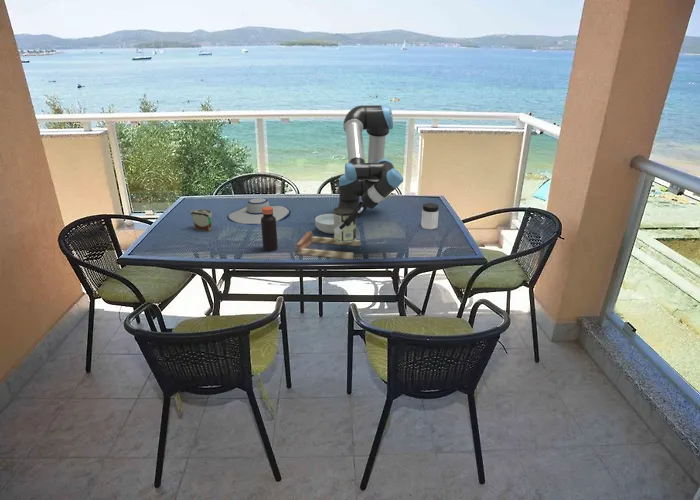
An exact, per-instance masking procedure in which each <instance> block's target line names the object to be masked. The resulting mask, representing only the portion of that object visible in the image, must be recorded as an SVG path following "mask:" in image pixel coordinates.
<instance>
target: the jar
mask: <svg viewBox="0 0 700 500" xmlns="http://www.w3.org/2000/svg"><path fill="white" fill-rule="evenodd" d="M438 222H439V205H438V204H437V203H433V202H427V203H426V202H425V203H423V204H422V209H421V224H420V225H421V227H422V229H425V230H426V229H427V230H435V229H438V226H439V224H438Z"/></svg>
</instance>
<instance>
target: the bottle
mask: <svg viewBox="0 0 700 500" xmlns="http://www.w3.org/2000/svg"><path fill="white" fill-rule="evenodd" d="M262 213H263V217H262V218H261V235H262V236H261V238H262V248H263V250H264V251H265V252H266V251H267V252H273V251H276V250H278V248H279V247H278V243H279V242H278V232H277V221H276V218H275V217H274V216H273V208H272V207H264V208H262Z"/></svg>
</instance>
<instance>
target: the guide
mask: <svg viewBox="0 0 700 500" xmlns="http://www.w3.org/2000/svg"><path fill="white" fill-rule="evenodd" d="M312 243H316V244H328V245H330V244H331V245H341V246H354V247H360V246H361V240H360V239H356V240H355V241H353V242H348V243H341V242H337V241H335V240H334V237H326V236H323V237H322V236H313V232H312V231H311V230H309V231H307V232H306V233H305V235H303V237H302V238H301V239H300V240H299V241H298V242H297V244H296V254H297V255H304V256H314V257H325V258H334V259H335V258H336V259H348V260H353V259H354V252H349V251H338V250H337V251H336V250H325V249H317V248H316V249H314V248H312V249H311V248H309V246H310V245H311V244H312Z"/></svg>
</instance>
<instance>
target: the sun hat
mask: <svg viewBox="0 0 700 500" xmlns="http://www.w3.org/2000/svg"><path fill="white" fill-rule="evenodd" d="M264 207H272V208H273V216H274V217H275V218H276V222H281V221H282V220H284V219H285V218H287V217H288V216H289V215H290V214H291V212H292V211H291V209H290V208H288V207H287V206H284V205H271V204H270V202H269V200H268V199H267V198H264V197H256V198H251V199H249V200H248V201H247V205H246V206H245V207H243V208H241V209H239V210H236V211H233V212H231V213H229V214H228V215H227V216H226V217H227V220H228V221H229V222H231V223H236V224H237V223H238V224H243V225H249V226H252V225H253V226H255V225H260V224H261V218H262V217H263V213H262V208H264Z"/></svg>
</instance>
